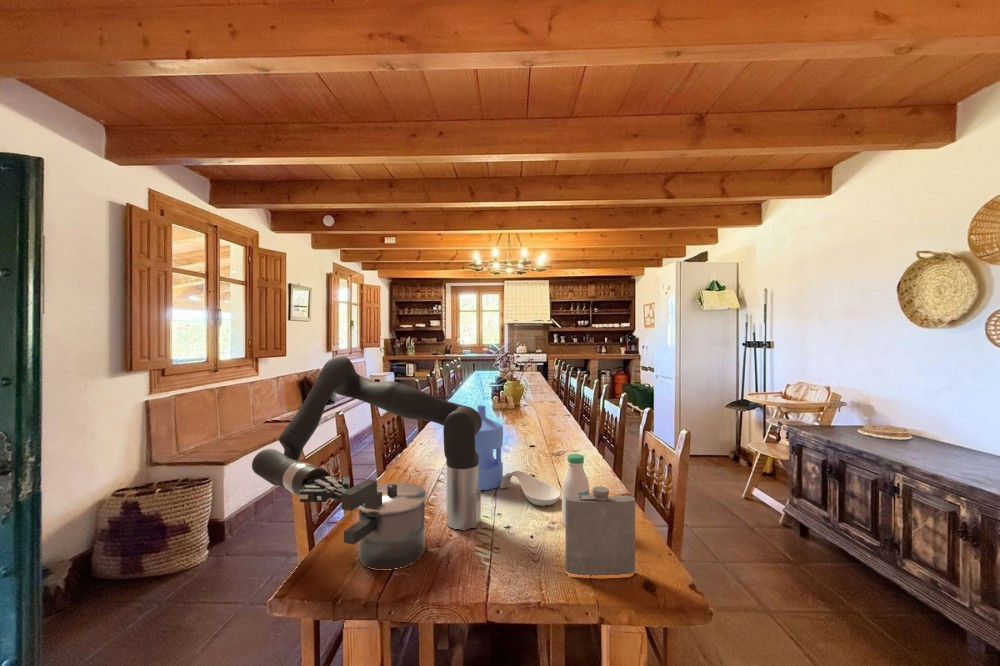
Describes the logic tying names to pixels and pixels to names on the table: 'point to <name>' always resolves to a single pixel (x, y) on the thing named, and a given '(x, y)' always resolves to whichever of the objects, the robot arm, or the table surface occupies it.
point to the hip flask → (600, 534)
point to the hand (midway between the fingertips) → (347, 497)
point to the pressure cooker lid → (383, 497)
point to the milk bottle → (574, 480)
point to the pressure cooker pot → (389, 538)
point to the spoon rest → (533, 488)
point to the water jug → (489, 451)
